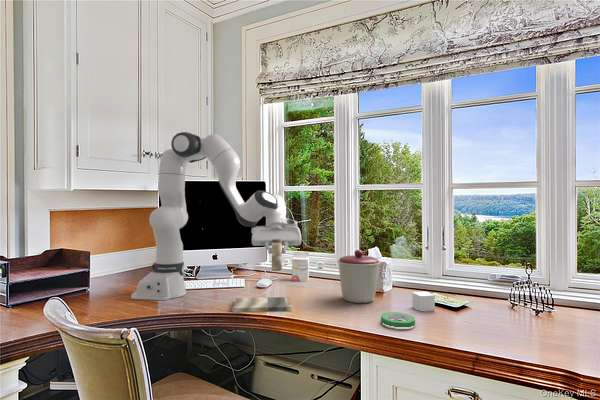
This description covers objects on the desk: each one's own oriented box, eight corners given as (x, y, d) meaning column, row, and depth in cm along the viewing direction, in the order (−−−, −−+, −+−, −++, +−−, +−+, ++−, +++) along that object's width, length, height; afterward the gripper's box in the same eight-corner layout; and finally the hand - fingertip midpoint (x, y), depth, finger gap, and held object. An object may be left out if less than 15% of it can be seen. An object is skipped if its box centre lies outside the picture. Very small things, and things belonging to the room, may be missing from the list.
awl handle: (271, 271, 141) (271, 240, 141) (271, 269, 145) (271, 239, 145) (281, 270, 141) (282, 240, 141) (281, 269, 145) (281, 239, 145)
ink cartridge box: (291, 281, 187) (291, 252, 187) (292, 279, 192) (293, 251, 192) (308, 281, 186) (308, 253, 186) (309, 279, 191) (309, 251, 191)
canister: (362, 292, 164) (362, 246, 164) (389, 302, 148) (390, 251, 148) (328, 297, 156) (328, 248, 156) (353, 308, 140) (354, 254, 140)
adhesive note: (420, 312, 136) (420, 296, 136) (412, 307, 142) (412, 292, 142) (434, 311, 138) (434, 295, 138) (426, 306, 144) (426, 291, 144)
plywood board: (232, 312, 135) (232, 308, 135) (235, 301, 149) (235, 297, 149) (291, 310, 137) (291, 306, 137) (289, 300, 151) (289, 297, 151)
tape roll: (421, 328, 119) (421, 320, 119) (392, 332, 116) (392, 323, 116) (402, 318, 130) (403, 310, 130) (375, 321, 126) (375, 313, 126)
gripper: (251, 221, 150) (250, 247, 140) (300, 221, 151) (302, 247, 142) (251, 231, 154) (250, 257, 144) (299, 230, 156) (301, 257, 146)
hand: (276, 252), depth 143 cm, fingers closed on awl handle, 4 cm apart
